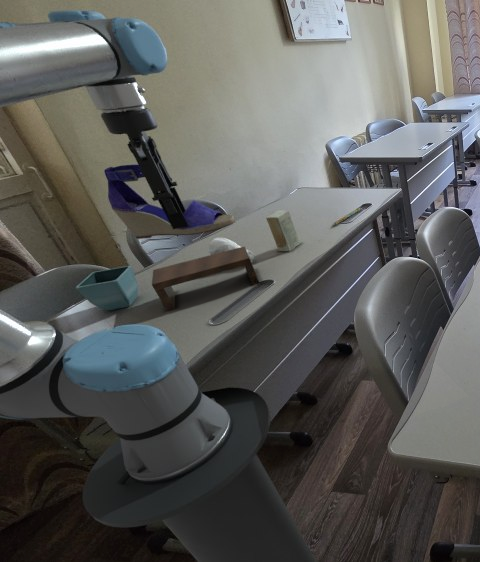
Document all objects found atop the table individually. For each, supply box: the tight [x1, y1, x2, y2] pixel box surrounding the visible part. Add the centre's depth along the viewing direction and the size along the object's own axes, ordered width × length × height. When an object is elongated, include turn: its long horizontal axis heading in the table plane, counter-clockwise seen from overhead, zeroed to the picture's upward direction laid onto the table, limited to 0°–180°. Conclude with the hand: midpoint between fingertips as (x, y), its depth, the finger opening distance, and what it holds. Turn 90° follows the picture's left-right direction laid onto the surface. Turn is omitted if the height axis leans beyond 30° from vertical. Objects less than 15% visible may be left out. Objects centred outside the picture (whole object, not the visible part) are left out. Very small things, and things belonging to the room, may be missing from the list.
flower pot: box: [75, 265, 139, 312], centre depth 105 cm, size 9×9×9 cm
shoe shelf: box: [151, 246, 260, 311], centre depth 111 cm, size 22×10×8 cm, turn 126°
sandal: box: [103, 163, 235, 240], centre depth 85 cm, size 8×20×15 cm, turn 102°
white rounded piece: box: [208, 237, 255, 264], centre depth 124 cm, size 6×8×12 cm
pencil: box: [331, 207, 362, 227], centre depth 155 cm, size 1×1×18 cm
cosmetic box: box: [265, 209, 301, 252], centre depth 131 cm, size 6×4×12 cm
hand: (180, 221), depth 88 cm, fingers closed on sandal, 7 cm apart
